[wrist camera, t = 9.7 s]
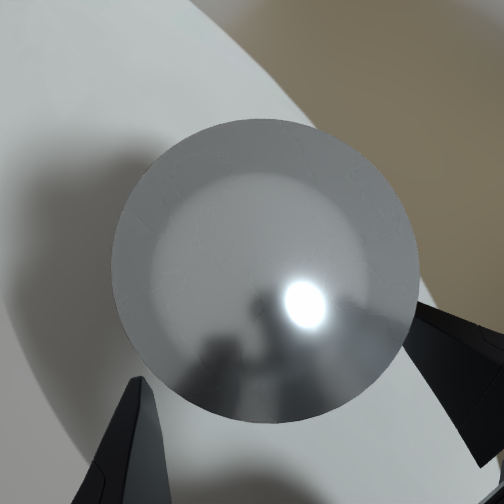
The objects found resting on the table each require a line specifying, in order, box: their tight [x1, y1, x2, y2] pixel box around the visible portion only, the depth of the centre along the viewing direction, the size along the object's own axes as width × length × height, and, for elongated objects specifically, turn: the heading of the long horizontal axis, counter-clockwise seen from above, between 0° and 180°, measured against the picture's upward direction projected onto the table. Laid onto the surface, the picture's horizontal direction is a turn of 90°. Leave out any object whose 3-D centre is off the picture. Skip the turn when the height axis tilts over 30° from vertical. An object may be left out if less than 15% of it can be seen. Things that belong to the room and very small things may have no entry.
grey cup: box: [111, 119, 420, 424], centre depth 12 cm, size 7×7×12 cm
